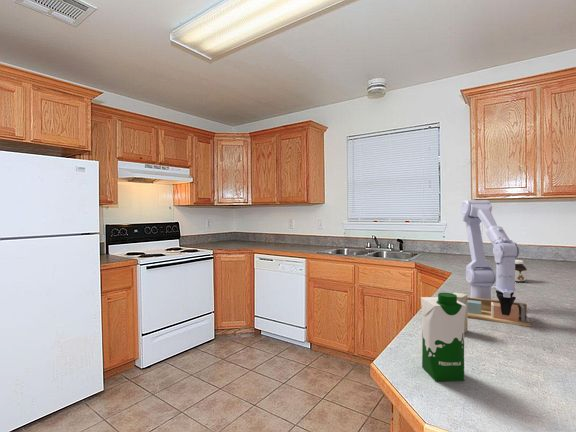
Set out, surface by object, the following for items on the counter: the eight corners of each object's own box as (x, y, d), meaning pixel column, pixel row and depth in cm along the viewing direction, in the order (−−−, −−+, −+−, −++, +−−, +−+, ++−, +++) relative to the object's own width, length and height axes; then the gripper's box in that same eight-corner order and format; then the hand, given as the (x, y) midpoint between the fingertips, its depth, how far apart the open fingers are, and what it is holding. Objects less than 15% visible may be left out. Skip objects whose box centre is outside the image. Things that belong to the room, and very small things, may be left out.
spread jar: (507, 282, 180) (507, 261, 179) (500, 278, 191) (500, 258, 190) (533, 283, 176) (533, 262, 176) (524, 279, 187) (525, 259, 187)
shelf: (464, 309, 133) (465, 296, 132) (525, 316, 123) (526, 303, 123) (464, 317, 122) (464, 303, 122) (530, 326, 113) (530, 312, 113)
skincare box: (461, 335, 105) (461, 297, 105) (446, 332, 108) (447, 295, 108) (468, 330, 109) (468, 294, 109) (453, 327, 112) (454, 291, 112)
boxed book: (491, 313, 124) (491, 301, 124) (517, 317, 120) (517, 304, 120) (491, 317, 120) (491, 305, 120) (518, 321, 116) (518, 308, 116)
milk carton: (433, 383, 76) (433, 297, 76) (416, 365, 85) (417, 288, 85) (470, 382, 77) (471, 297, 76) (450, 364, 86) (450, 287, 85)
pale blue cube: (466, 309, 129) (466, 299, 129) (480, 311, 127) (481, 301, 126) (465, 312, 125) (465, 302, 125) (481, 314, 123) (481, 303, 123)
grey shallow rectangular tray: (518, 316, 121) (518, 302, 121) (527, 317, 120) (527, 303, 120) (521, 321, 115) (521, 307, 115) (529, 323, 114) (530, 308, 114)
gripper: (491, 271, 128) (491, 306, 128) (493, 278, 115) (493, 316, 115) (513, 272, 124) (513, 308, 125) (517, 280, 112) (517, 320, 112)
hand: (505, 312), depth 120 cm, fingers closed on boxed book, 5 cm apart
